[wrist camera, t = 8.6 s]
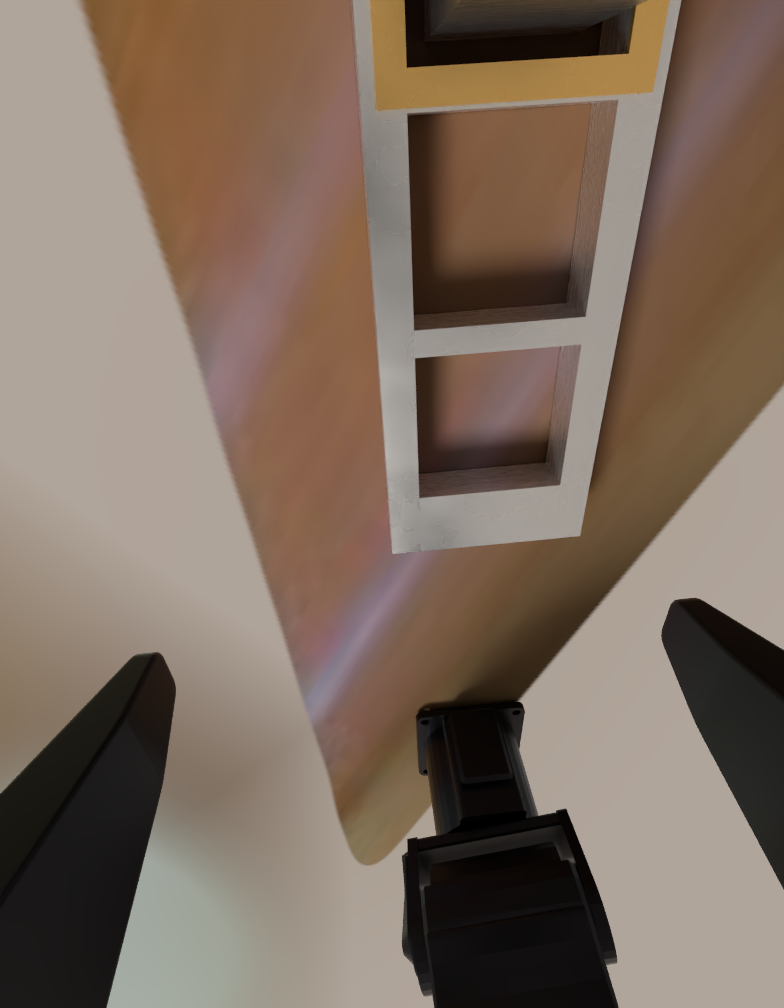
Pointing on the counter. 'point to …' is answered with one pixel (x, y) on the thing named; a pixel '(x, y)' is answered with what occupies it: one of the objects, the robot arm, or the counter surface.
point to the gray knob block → (515, 17)
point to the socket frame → (572, 325)
